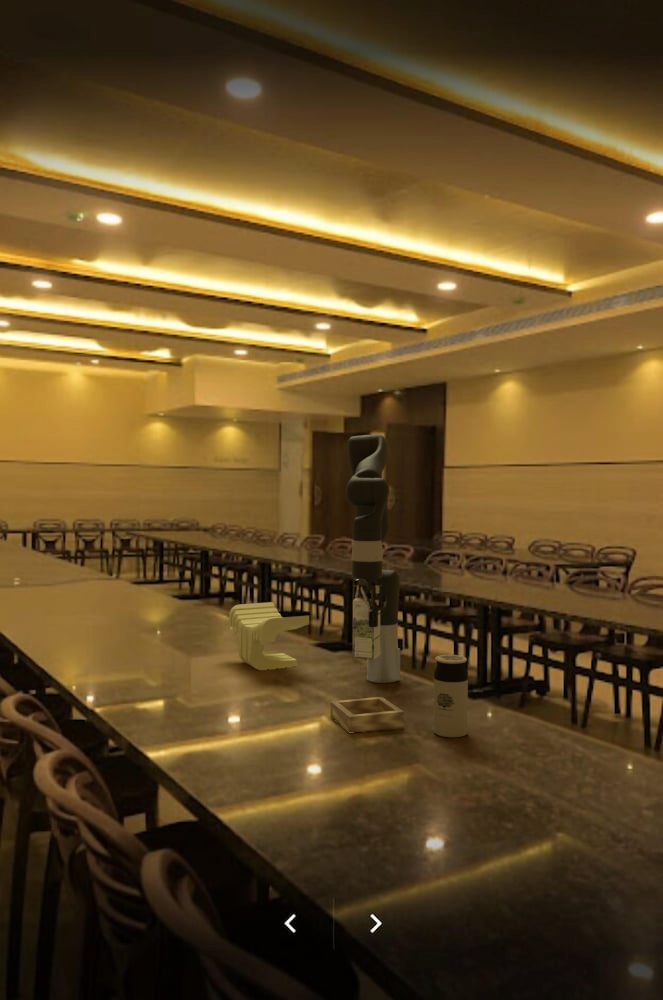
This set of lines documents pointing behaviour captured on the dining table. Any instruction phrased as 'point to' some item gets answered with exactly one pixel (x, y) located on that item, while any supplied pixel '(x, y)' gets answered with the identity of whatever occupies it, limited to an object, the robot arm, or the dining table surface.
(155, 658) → the dining table surface
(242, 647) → the slatted curved stool
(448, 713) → the travel mug
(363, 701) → the socket block
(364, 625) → the syrup box
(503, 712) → the dining table surface
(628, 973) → the dining table surface
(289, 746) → the dining table surface
